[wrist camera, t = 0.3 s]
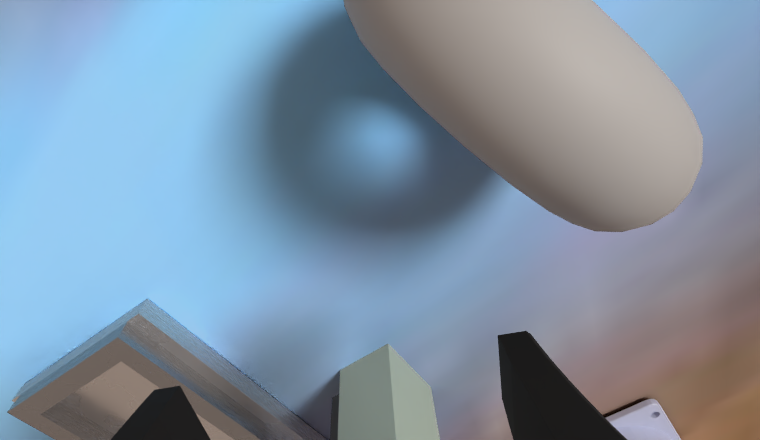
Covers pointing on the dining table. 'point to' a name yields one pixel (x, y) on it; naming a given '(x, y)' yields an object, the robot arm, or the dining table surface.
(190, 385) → the tray
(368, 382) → the pale green cuboid
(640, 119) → the donut
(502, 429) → the dining table surface
